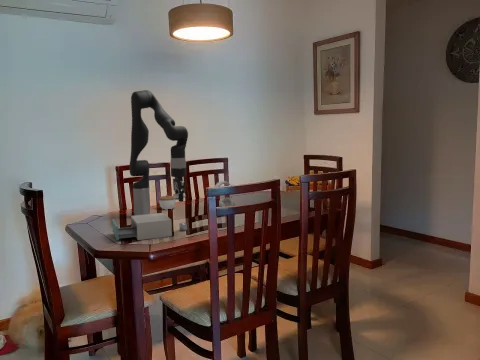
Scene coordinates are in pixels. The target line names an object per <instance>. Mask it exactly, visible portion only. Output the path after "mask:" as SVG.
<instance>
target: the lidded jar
mask: <svg viewBox="0 0 480 360" xmlns="http://www.w3.org/2000/svg"><path fill="white" fill-rule="evenodd" d="M176 201H177V200H176V199H175V198H173V195H169V194H166V195H162V196H159V197H158V202H159V206H160V208H161V209H162V210H163V209H165V210H164V211H168V210H167V209H171V210H173V209H174V207H175V206H176Z"/></svg>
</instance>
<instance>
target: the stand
mask: <svg viewBox="0 0 480 360" xmlns="http://www.w3.org/2000/svg"><path fill="white" fill-rule="evenodd" d="M178 224H179V231H180V232H187V230H188V225H187V222H180V223H178Z"/></svg>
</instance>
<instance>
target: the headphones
mask: <svg viewBox="0 0 480 360" xmlns="http://www.w3.org/2000/svg"><path fill="white" fill-rule="evenodd" d="M222 185H225V186H226V187H227V186H228V185H231V183H230V182H228V181H226V180H225V181H223V180H222V181H217V182H216V184H215V185H214V187H219V188H220V187H221V186H222ZM219 206H220V207H222V206H235V207H236V202H235V200H234V199H233V195H232V196H231V195H230V197H229V196H228V197H223V199H222V200H219Z"/></svg>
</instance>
